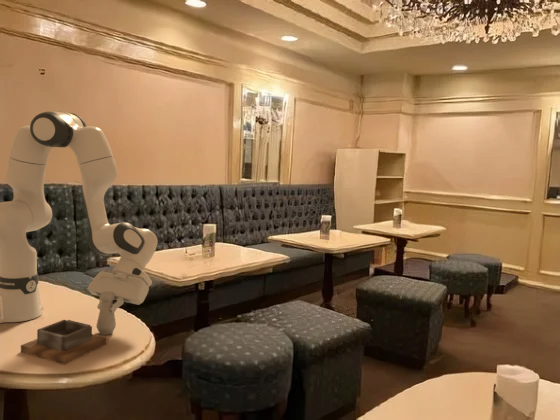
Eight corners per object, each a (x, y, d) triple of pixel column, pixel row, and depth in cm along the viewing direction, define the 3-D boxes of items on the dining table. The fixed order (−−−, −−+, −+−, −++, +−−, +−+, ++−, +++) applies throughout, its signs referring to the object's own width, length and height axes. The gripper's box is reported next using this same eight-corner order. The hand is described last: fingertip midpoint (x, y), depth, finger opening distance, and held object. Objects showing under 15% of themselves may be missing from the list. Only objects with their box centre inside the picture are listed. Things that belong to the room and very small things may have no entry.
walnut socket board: (20, 352, 137) (20, 331, 136) (65, 333, 152) (65, 315, 151) (64, 364, 131) (64, 343, 130) (106, 344, 146) (106, 324, 145)
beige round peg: (109, 337, 151) (111, 296, 150) (92, 334, 152) (93, 294, 151) (118, 330, 157) (120, 291, 156) (102, 328, 158) (103, 289, 156)
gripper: (97, 263, 163) (74, 299, 155) (148, 272, 155) (126, 311, 147) (106, 273, 167) (84, 308, 159) (156, 283, 160) (136, 321, 152)
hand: (105, 310), depth 153 cm, fingers closed on beige round peg, 3 cm apart
